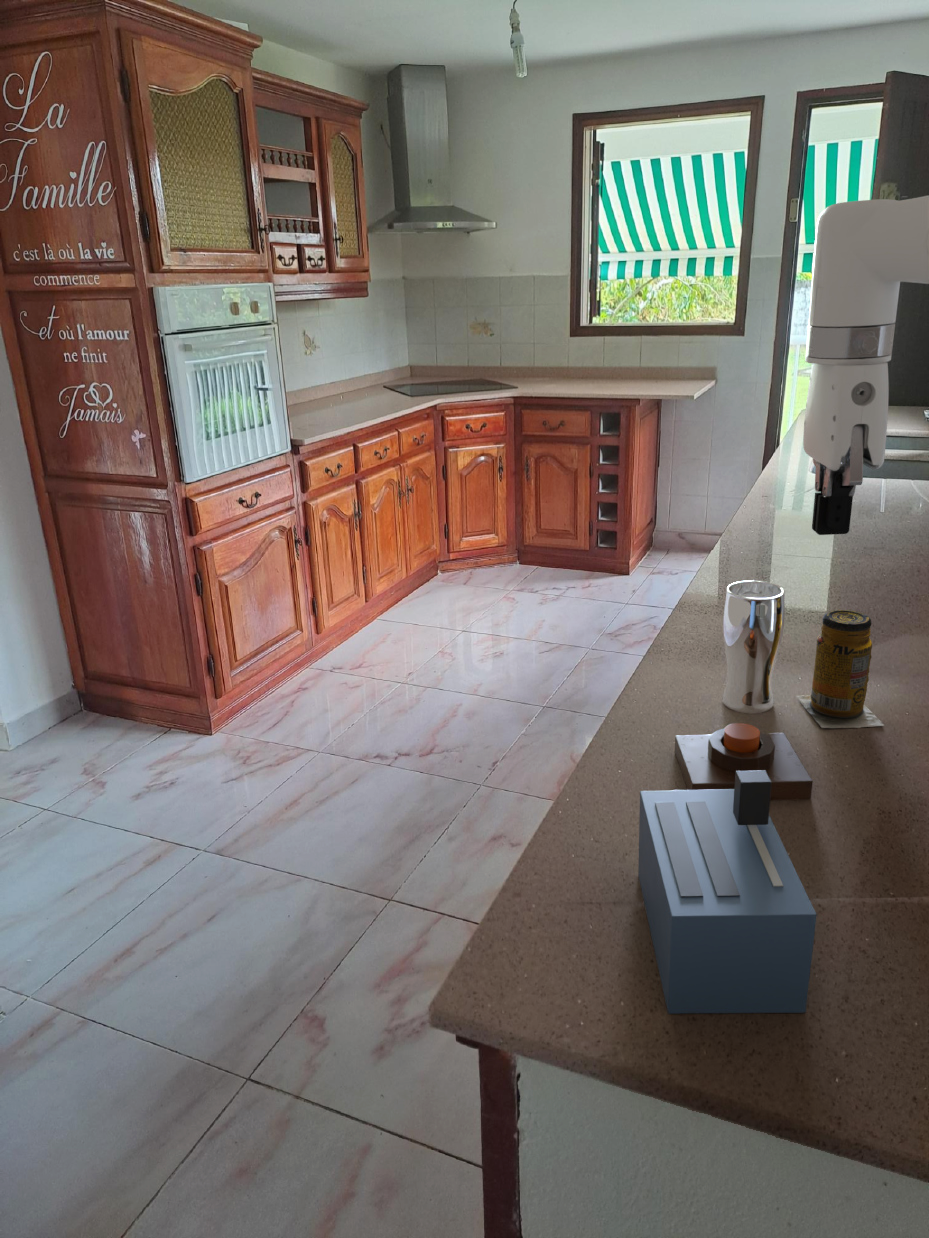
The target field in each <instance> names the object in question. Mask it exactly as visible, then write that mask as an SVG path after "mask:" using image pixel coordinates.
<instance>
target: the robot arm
mask: <svg viewBox="0 0 929 1238" xmlns="http://www.w3.org/2000/svg"><path fill="white" fill-rule="evenodd" d="M901 283H913V284H915V283H916V284H925V285H929V195H924V196H918V197H913V198H907V199H902V200H897V199H888V198H883V199H882V198H879V199H877V198H876V199H863V200H852V201H844V202H843V201H842V202H838V203H833V204H831V205H828V206H826V207H825V208H824V209H823V210H822V211H821V212H820V214H819V216H818V218H817V222H816V229H815V240H814V253H813V263H812V276H811V287H810V301H809V303H810V304H809V311H808V312H809V313H808V324H807V335H806V336H807V337H806V346H805V347H806V348H805V360H804V362H805V363H807V364H812V365H811V370H810V376H809V382H808V388H807V395H806V396H807V397H806V404H805V412H804V420H803V421H804V422H803V437H802V439H803V442H802V443H803V444H802V445H803V450H804V452H805V454H807V456H808V457H810V458H812V463H813V465H814V467H815V472H814V474H815V475H814V477H815V478H814V491H815V492H814V500H813V510H812V511H813V512H812V522H811V524H812V525H811V530H812V531H813V532H815V533H816V534H817V535H818V536H828V535H829V536H831V535H846V534H848V533H849V532H850V527H851V518H852V509H853V501H854V499H853V498H854V496H855V494H856V488H857V486H862V485H863V481H864V479H863V478H864V466H866V467H868V468H870V469H872V470H878V469H880V468H882V466H883V465H884V463H885V458H886V457H885V456H886V446H887V445H886V444H887V433H888V432H887V430H888V419H889V417H888V416H889V399H890V397H889V396H890V395H889V394H890V393H889V391H890V382H889V381H890V380H889V366H888V365H889V364H888V362H890V361H892V355H893V346H894V338H895V329H896V321H897V313H898V304H899V295H900V287H901Z"/></svg>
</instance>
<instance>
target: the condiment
mask: <svg viewBox="0 0 929 1238" xmlns="http://www.w3.org/2000/svg"><path fill="white" fill-rule="evenodd" d="M821 619H822V622H821V623H822V625H821V627H820V631H821V632H820V633H819V634H818V636H817V637H816V638H817V639H816V645H815V646H816V647H815V653H814V654H815V655H814V665H813V672H812V673H813V674H812V682H811V691H810V694H804V695H801V694H800V695H799V694H798V695H795V697H796V698H797V700H798V701H799V702H800V704H801V705H802V706H803V708H804V709H805V710H806V711H807V712H808V713H809V714H810V715H811V717H812V718H813V720H814V721H815V722H816V723H817V724H818V726H820V727H821V729H854V728H855V729H856V728H857V729H860V728H867V727H868V728H869V727H870V728H874V727H885V724H884V723H883V722H882V721H881V720H880V719H879V718H878V717H877V716H876V715H875V713H874V712H872V710H870V709H869V708H868V707H867V706H866V705H865V702H866V696H867V693H868V683H869V680H870V679H869V677H870V676H869V674H870V666H871V660H872V649H873V642H872V639H871V638H870V637H871V634H872V633H871V627H872V624H873V623H872V619H871V617H870V616H868V615H867V614H864V613H863V612H859V611H856V610H852V609H851V610H850V609H834V610H830V611H828V612H826V613H824V615H823V617H822V618H821Z"/></svg>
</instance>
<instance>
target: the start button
mask: <svg viewBox="0 0 929 1238" xmlns="http://www.w3.org/2000/svg"><path fill="white" fill-rule="evenodd" d="M724 728H725V729H724ZM724 728H723V729H724V747H726V748H727V749H729V750H732V751H736V752H740V753H744V752H754V751H757V750H758V749H759V741H760V732H761V731H760V729H759V728H757V727H756V726H755V725H752V724H749V723H744V722H743V723H742V722H733V723H729V724H728V725H726V726H725V727H724Z"/></svg>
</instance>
